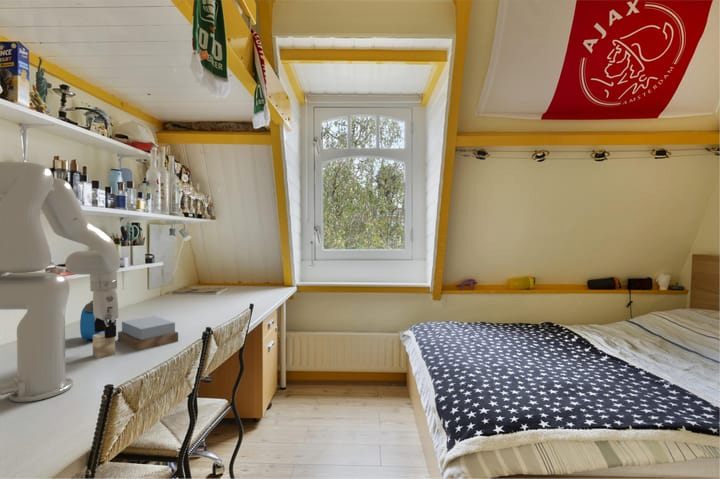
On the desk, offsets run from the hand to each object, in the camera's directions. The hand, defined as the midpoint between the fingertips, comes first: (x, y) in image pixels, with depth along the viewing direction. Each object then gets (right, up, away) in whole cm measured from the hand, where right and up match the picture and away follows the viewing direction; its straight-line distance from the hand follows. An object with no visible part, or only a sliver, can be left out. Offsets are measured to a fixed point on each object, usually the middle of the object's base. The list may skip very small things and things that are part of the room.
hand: (105, 334), depth 123 cm
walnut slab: (+6, -7, +15) cm, 18 cm away
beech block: (0, -7, -1) cm, 7 cm away
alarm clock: (-17, -6, +17) cm, 25 cm away
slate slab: (+6, -3, +15) cm, 16 cm away
